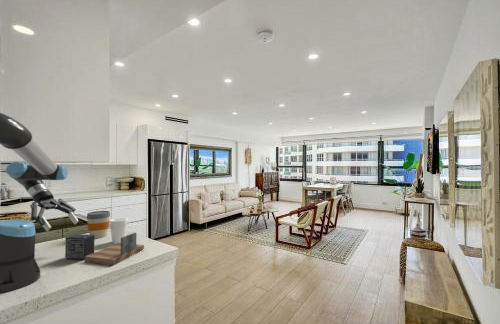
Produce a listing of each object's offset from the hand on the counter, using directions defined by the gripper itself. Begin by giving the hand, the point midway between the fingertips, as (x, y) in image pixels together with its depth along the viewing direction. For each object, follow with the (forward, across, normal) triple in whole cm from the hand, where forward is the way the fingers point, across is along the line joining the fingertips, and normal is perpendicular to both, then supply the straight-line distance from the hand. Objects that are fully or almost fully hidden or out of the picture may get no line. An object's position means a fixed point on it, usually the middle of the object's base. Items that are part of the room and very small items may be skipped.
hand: (63, 225), depth 116 cm
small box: (+18, 0, -3) cm, 18 cm away
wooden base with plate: (+29, -6, +8) cm, 31 cm away
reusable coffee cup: (+3, -30, -18) cm, 35 cm away
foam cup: (+18, -24, -3) cm, 30 cm away
